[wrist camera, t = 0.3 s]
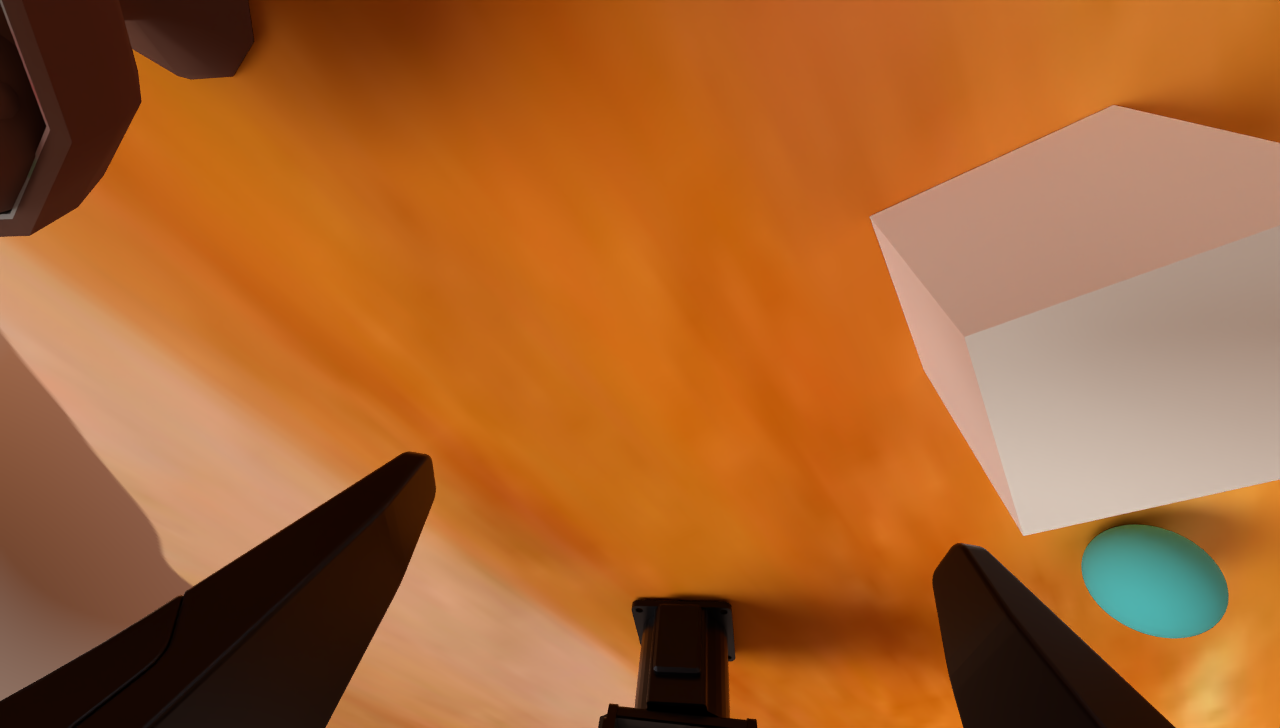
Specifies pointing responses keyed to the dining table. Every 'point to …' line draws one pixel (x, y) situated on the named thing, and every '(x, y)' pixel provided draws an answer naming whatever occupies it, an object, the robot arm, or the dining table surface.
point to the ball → (1155, 581)
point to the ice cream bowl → (91, 88)
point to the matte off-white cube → (1102, 313)
